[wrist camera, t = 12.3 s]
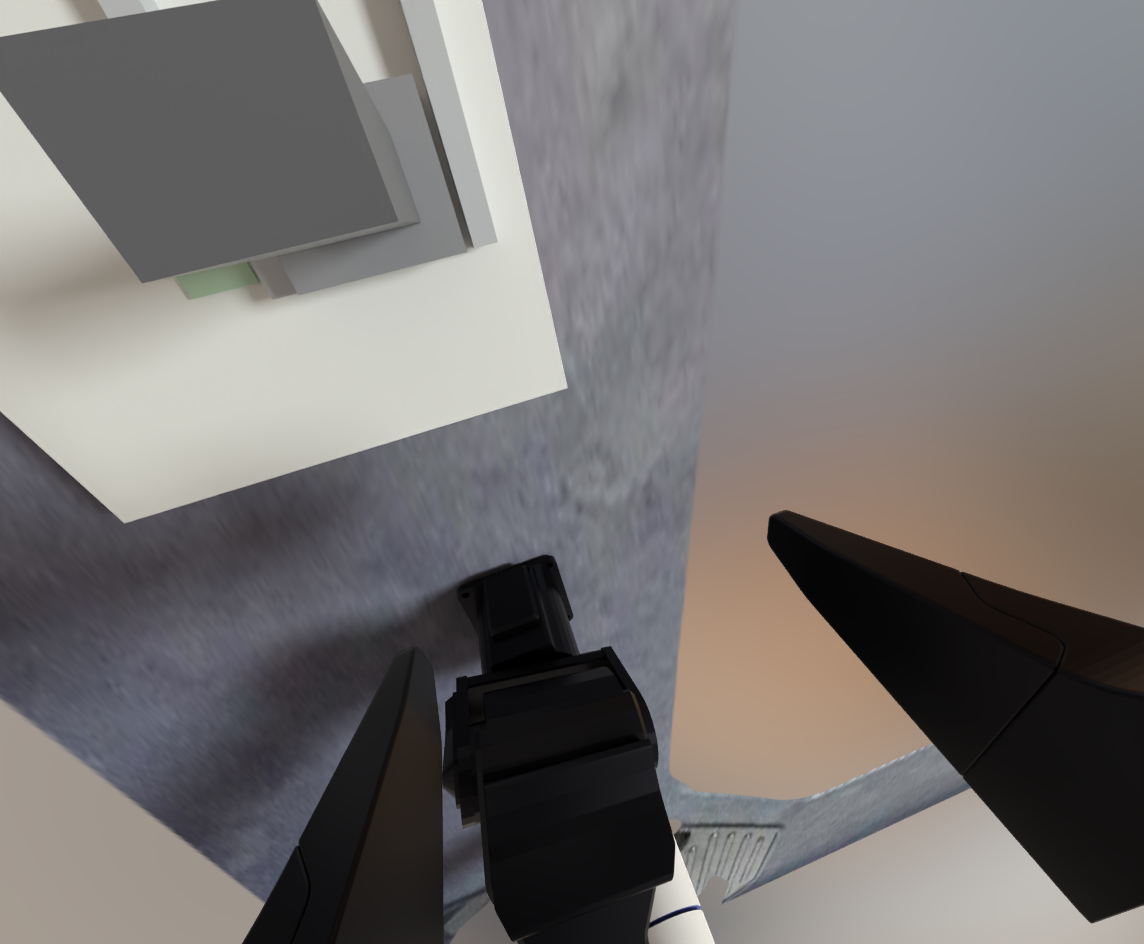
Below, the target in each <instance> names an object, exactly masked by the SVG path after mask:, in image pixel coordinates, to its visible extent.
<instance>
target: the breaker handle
mask: <svg viewBox="0 0 1144 944" xmlns="http://www.w3.org/2000/svg"><path fill="white" fill-rule="evenodd" d="M0 92H1V93H2V95H3V96H4V98H5V99H6V100H7V102H8V103H9V104H10V106H11V107H12V108H13V110H14V111H15V112H16V114H17V115H18V116H19V118H20V119H21V120H22V122H23V123H24V125H25V126H26V127H27V129H28V130H29V131H30V133H31V134H32V135H33V137H34V138H35V139H36V141H37V142H38V143H39V145H40V146H41V147H42V149H43V150H44V152H45V153H46V154H47V156H48V157H49V158H50V160H51V161H52V162H53V164H54V165H55V166H56V168H57V169H58V170H59V172H60V173H61V174H62V176H63V177H64V179H65V180H66V181H67V183H68V184H69V185H70V187H71V188H72V189H73V191H74V192H75V193H76V195H77V196H78V197H79V199H80V200H81V201H82V203H83V204H84V206H85V207H86V208H87V210H88V211H89V212H90V214H91V215H92V216H93V218H94V219H95V220H96V222H97V223H98V224H99V226H100V227H101V228H102V230H103V231H104V233H105V234H106V235H107V237H108V238H109V239H110V241H111V242H112V243H113V245H114V246H115V247H116V249H117V250H118V251H119V253H120V254H121V255H122V257H123V258H124V260H125V261H126V262H127V264H128V265H129V266H130V268H131V269H132V270H133V272H134V273H135V274H136V276H137V277H138V278H139V280H140V281H141V282H142V283H147V282H151V281H156V280H161V279H166V278H171V277H176V276H181V275H186V274H191V273H196V272H200V271H205V270H210V269H215V268H220V267H225V266H230V265H235V264H240V263H245V262H249V261H254V260H259V259H264V258H269V257H274V256H277V257H278V258H279V260H280V262H281V264H282V266H283V268H284V269H285V271H286V273H287V275H288V277H289V278H290V280H291V282H292V284H293V286H294V288H295V289H296V291H297V293H298V295H302V294H306V293H310V292H314V291H318V290H322V289H325V288H329V287H333V286H337V285H341V284H345V283H349V282H353V281H357V280H361V279H364V278H368V277H372V276H376V275H380V274H384V273H388V272H392V271H396V270H400V269H403V268H407V267H411V266H415V265H419V264H423V263H427V262H431V261H435V260H439V259H442V258H446V257H450V256H454V255H458V254H462V253H466V252H467V250H466V246H465V243H464V240H463V237H462V233H461V230H460V227H459V224H458V220H457V217H456V214H455V211H454V207H453V204H452V201H451V198H450V195H449V191H448V188H447V185H446V182H445V178H444V175H443V172H442V169H441V165H440V162H439V159H438V156H437V152H436V149H435V146H434V143H433V139H432V136H431V133H430V130H429V126H428V123H427V120H426V117H425V113H424V110H423V107H422V104H421V101H420V97H419V94H418V91H417V88H416V84H415V81H414V78H413V75H412V74H407V75H402V76H397V77H392V78H387V79H382V80H377V81H372V82H367V83H362V81H361V79H360V77H359V75H358V74H357V72H356V70H355V68H354V66H353V64H352V63H351V61H350V59H349V57H348V55H347V53H346V52H345V50H344V48H343V46H342V44H341V42H340V41H339V39H338V37H337V35H336V33H335V31H334V30H333V28H332V26H331V24H330V22H329V20H328V19H327V17H326V15H325V13H324V11H323V9H322V8H321V6H320V4H319V2H318V0H215V1H209V2H204V3H198V4H192V5H186V6H180V7H174V8H168V9H162V10H156V11H150V12H144V13H139V14H133V15H127V16H121V17H115V18H109V19H103V20H97V21H91V22H85V23H79V24H74V25H68V26H62V27H56V28H50V29H44V30H38V31H32V32H26V33H20V34H14V35H9V36H3V37H0Z"/></svg>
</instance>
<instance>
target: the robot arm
mask: <svg viewBox="0 0 1144 944" xmlns="http://www.w3.org/2000/svg"><path fill="white" fill-rule="evenodd" d="M767 540H768V543H769V545H770V547H771V549H772V550H773V551H774V553H775V554H776V556H777V557H778V559H779V560H780V562H781V563H782V564H783V566H784V567H785V569H786V570H787V571H788V572H789V574H790V576H791V577H792V579H793V580H794V581H795V583H796V584H797V586H798V587H799V588H800V590H801V591H802V592H803V594H804V595H805V596H806V598H807V599H808V600H809V601H810V602H811V604H812V605H813V606H814V607H815V608H816V609H817V611H818V612H819V613H820V614H821V615H822V616H823V617H824V619H825V620H826V621H827V622H828V623H829V624H830V626H831V627H832V628H833V629H834V630H835V631H836V632H837V633H838V635H839V636H840V637H841V638H842V639H843V640H844V642H845V643H846V644H847V645H848V646H849V647H850V648H851V650H852V651H853V652H854V653H855V654H856V655H857V657H858V658H860V660H861V661H862V662H863V663H864V665H865V666H866V667H867V668H868V669H869V670H870V672H871V673H872V674H873V675H874V676H875V677H876V678H877V680H878V681H879V682H880V683H881V684H882V685H883V686H884V688H885V689H886V690H887V691H888V692H889V693H890V695H891V696H892V697H893V698H894V699H895V700H896V701H897V703H898V704H899V705H900V706H901V707H902V708H903V709H904V711H905V712H906V713H907V714H908V715H909V716H910V717H911V719H912V720H913V721H914V722H915V723H916V724H917V725H918V727H919V728H920V729H921V730H922V731H923V732H924V733H925V735H926V736H927V737H928V738H929V739H930V740H931V742H932V743H933V744H934V745H935V746H936V747H937V749H938V750H939V751H940V752H941V753H942V754H943V755H944V757H945V758H946V759H947V760H948V761H949V762H950V764H951V765H952V766H953V767H954V768H955V769H956V770H957V772H958V773H959V774H960V775H962V776H963V779H964V780H965V781H966V782H967V783H968V785H969V786H970V787H971V788H972V789H973V790H974V791H975V793H977V795H978V796H979V797H980V798H981V799H982V801H983V802H984V803H985V804H986V805H987V806H988V807H989V809H990V810H991V811H992V812H993V813H994V814H995V816H996V817H997V818H998V819H999V820H1000V821H1001V823H1003V825H1004V826H1005V827H1006V828H1007V829H1008V831H1009V832H1010V833H1011V834H1012V835H1013V836H1014V837H1015V839H1016V840H1017V841H1018V842H1019V843H1020V844H1021V845H1022V846H1023V848H1024V849H1025V850H1026V851H1027V852H1028V853H1029V855H1030V856H1031V857H1032V858H1033V859H1034V860H1035V861H1036V863H1037V864H1038V865H1039V866H1040V867H1041V868H1042V869H1043V871H1044V872H1045V873H1046V874H1047V875H1048V876H1049V877H1050V879H1051V880H1052V881H1053V882H1054V883H1055V885H1056V886H1057V887H1058V888H1059V889H1060V890H1061V891H1062V893H1063V894H1064V895H1065V896H1066V897H1067V898H1068V899H1069V901H1070V902H1071V903H1072V904H1073V905H1074V906H1075V907H1076V908H1077V910H1078V911H1079V912H1080V913H1081V914H1082V915H1083V916H1084V917H1085V918H1086V919H1087V920H1088V921H1089V922H1090V923H1095V922H1098V921H1101V920H1103V919H1106V918H1109V917H1112V916H1115V915H1118V914H1121V913H1123V912H1126V911H1129V910H1132V909H1135V908H1137V907H1140V906H1143V905H1144V628H1143V627H1140V626H1136V625H1132V624H1129V623H1126V622H1123V621H1119V620H1116V619H1112V618H1109V617H1106V616H1102V615H1099V614H1095V613H1092V612H1088V611H1085V610H1082V609H1078V608H1075V607H1071V606H1068V605H1065V604H1061V603H1058V602H1054V601H1051V600H1048V599H1045V598H1041V597H1038V596H1034V595H1031V594H1028V593H1024V592H1022V591H1018V590H1015V589H1012V588H1009V587H1006V586H1003V585H1000V584H997V583H994V582H991V581H988V580H985V579H983V578H980V577H977V576H974V575H971V574H968V573H965V572H959V570H956V569H954V568H951V567H948V566H945V565H942V564H940V563H937V562H934V561H931V560H928V559H925V558H922V557H919V556H916V555H914V554H911V553H908V552H905V551H903V550H900V549H897V548H894V547H891V546H888V545H885V544H883V543H880V542H877V541H874V540H871V539H868V538H865V537H863V536H860V535H857V534H854V533H851V532H848V531H845V530H843V529H840V528H837V527H834V526H831V525H828V524H826V523H823V522H820V521H817V520H814V519H811V518H808V517H806V516H803V515H800V514H797V513H794V512H791V511H788V510H783V511H780V512H777V513H775V514H773V515H771V516H770V517H769V525H768V534H767ZM547 563H550V564H547ZM466 592H467V593H466ZM464 593H466V594H464ZM457 596H458V599H459V601H460V603H461V605H462V606H463V608H464V610H465V612H466V613H467V615H468V617H469V619H470V621H471V622H472V624H473V626H474V628H475V629H476V631H477V633H478V636H479V647H480V657H481V668H482V675H477V676H472V677H467V676H463V677H458V678H456V691H457V692H454V693H453V696H452V697H451V698H450V699H448V700H447V701H446V702H445V717H446V733H445V748H444V759H443V771H442V741H441V731H440V722H439V714H438V706H437V697H436V689H435V680H434V673H433V669H432V667H431V665H430V663H429V662H428V660H427V659H426V658H425V656H424V655H423V653H422V652H421V651H420V649H419V648H418V647H415V646H414V647H411V648H408V649H405V650H403V651H400V652H399V653H398V654H397V655H396V656H395V658H394V660H393V662H392V664H391V666H390V668H389V669H388V671H387V673H386V675H385V677H384V679H383V681H382V683H381V685H380V687H379V689H378V690H377V692H376V694H375V696H374V698H373V700H372V702H371V704H370V706H369V708H368V710H367V711H366V713H365V715H364V717H363V719H362V721H361V723H360V725H359V727H358V729H357V731H356V732H355V734H354V736H353V738H352V740H351V742H350V744H349V746H348V748H347V750H346V751H345V753H344V755H343V757H342V759H341V761H340V763H339V765H338V767H337V769H336V771H335V772H334V774H333V776H332V778H331V780H330V782H329V784H328V786H327V788H326V790H325V792H324V793H323V795H322V797H321V799H320V801H319V803H318V805H317V807H316V809H315V811H314V813H313V814H312V816H311V818H310V820H309V822H308V824H307V826H306V828H305V830H304V832H303V834H302V835H301V837H300V839H299V842H298V844H299V846H296V847H295V849H294V850H293V852H292V854H291V856H290V858H289V860H288V862H287V864H286V866H285V868H284V869H283V871H282V873H281V875H280V877H279V879H278V881H277V882H276V884H275V886H274V888H273V890H272V892H271V893H270V895H269V897H268V899H267V901H266V903H265V904H264V906H263V908H262V910H261V912H260V914H259V915H258V917H257V919H256V921H255V922H254V924H253V926H252V927H251V929H250V931H249V933H248V934H247V936H246V938H245V939H244V941H243V943H242V944H444V943H443V816H442V781H443V789H445V790H446V791H447V792H448V793H449V794H450V795H452V796H453V797H454V798H455V799H456V807H457V809H460V808H461V818H462V826H463V828H467V827H470V826H473V825H476V824H479V823H481V834H482V847H483V860H484V873H485V885H486V890H487V893H488V896H489V898H490V900H491V901H492V903H493V904H494V907H495V911H496V913H497V915H498V917H499V919H500V921H501V922H502V924H503V926H504V928H505V930H506V932H507V934H508V936H509V937H510V939H511V940H512V941H513V942H515V941H517V942H518V944H649V940H648V929H649V923H650V918H651V912H652V907H653V902H654V896H655V891H656V887H657V886H660V885H662V884H665V883H667V882H670V881H672V879H673V877H674V866H675V840H674V836H673V833H672V830H671V827H670V823H669V820H668V816H667V813H666V810H665V806H664V803H663V799H662V796H661V792H660V788H659V783H658V779H657V774H656V770H655V769H656V768H657V765H658V745H657V739H656V733H655V729H654V725H653V721H652V718H651V715H650V712H649V710H648V707H647V705H646V703H645V700H644V699H643V697H642V695H641V693H640V692H639V690H638V689H637V687H636V685H635V684H634V682H633V681H632V679H631V677H630V676H629V674H628V673H627V671H626V670H625V668H624V666H623V665H622V663H621V662H620V660H619V658H618V657H617V655H616V654H615V652H614V651H613V649H612V647H611V646H608V647H604V648H601V650H597V651H592V652H588V653H583V654H580V653H579V650H578V647H577V644H576V641H575V638H574V635H573V632H572V629H571V626H570V622H569V621H570V620H571V619H572V618H573V613H572V610H571V607H570V604H569V601H568V597H567V594H566V591H565V588H564V585H563V582H562V579H561V576H560V573H559V570H558V566H557V563H556V560H555V558H554V557H553V556H545V557H542V558H539V559H536V560H533V561H531V562H528V563H525V564H522V565H519V566H516V567H514V568H511V569H508V570H505V571H502V572H499V573H497V574H494V575H491V576H488V577H485V578H483V579H480V580H477V581H474V582H471V583H468V584H466V585H463V586H461V587H459V588H458V590H457Z"/></svg>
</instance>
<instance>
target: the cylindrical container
mask: <svg viewBox="0 0 1144 944" xmlns="http://www.w3.org/2000/svg"><path fill="white" fill-rule="evenodd" d="M673 836H674V835H673ZM674 840H675V838H674ZM700 908H701V906H700V904H699V901H698V898H697V896H696V893H695V890H694V888H693V885H692V882H691V880H690V877H689V875H688V872H687V869H686V867H685V864H684V862H683V859H682V856H681V854H680V851H679V849H678V846H677V843H676V841H675V866H674V877H673V879H672V881H670V882H667V883H665V884H662V885H660V886H657V887H656V891H655V896H654V902H653V907H652V912H651V918H650V923H649V929H648V940H649V944H715V943H714V940H713V937H712V935H711V932H710V930H709V927H708V924H707V922H706V919H705V917H704V914H703V911H702V910H700Z"/></svg>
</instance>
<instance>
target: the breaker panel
mask: <svg viewBox="0 0 1144 944" xmlns="http://www.w3.org/2000/svg"><path fill="white" fill-rule="evenodd" d="M209 1H215V0H0V37H3V36H9V35H14V34H20V33H26V32H32V31H38V30H44V29H50V28H56V27H62V26H68V25H74V24H79V23H85V22H91V21H97V20H103V19H109V18H115V17H121V16H127V15H133V14H139V13H144V12H150V11H156V10H162V9H168V8H174V7H180V6H186V5H192V4H198V3H204V2H209ZM318 2H319V4H320V6H321V8H322V9H323V11H324V13H325V15H326V17H327V19H328V20H329V22H330V24H331V26H332V28H333V30H334V31H335V33H336V35H337V37H338V39H339V41H340V42H341V44H342V46H343V48H344V50H345V52H346V53H347V55H348V57H349V59H350V61H351V63H352V64H353V66H354V68H355V70H356V72H357V74H358V75H359V77H360V79H361V81H362V83H367V82H372V81H377V80H382V79H387V78H392V77H397V76H402V75H407V74H412V75H413V78H414V81H415V84H416V88H417V91H418V94H419V97H420V101H421V104H422V107H423V110H424V113H425V117H426V120H427V123H428V126H429V130H430V133H431V136H432V139H433V143H434V146H435V149H436V152H437V156H438V159H439V162H440V165H441V169H442V172H443V175H444V178H445V182H446V185H447V188H448V191H449V195H450V198H451V201H452V204H453V207H454V211H455V214H456V217H457V220H458V224H459V227H460V230H461V233H462V237H463V240H464V243H465V246H466V250H467V252H466V253H462V254H458V255H454V256H450V257H446V258H442V259H439V260H435V261H431V262H427V263H423V264H419V265H415V266H411V267H407V268H403V269H400V270H396V271H392V272H388V273H384V274H380V275H376V276H372V277H368V278H364V279H361V280H357V281H353V282H349V283H345V284H341V285H337V286H333V287H329V288H325V289H322V290H318V291H314V292H310V293H306V294H302V295H298V293H297V291H296V289H295V288H294V286H293V284H292V282H291V280H290V278H289V277H288V275H287V273H286V271H285V269H284V268H283V266H282V264H281V262H280V260H279V258H278V257H277V256H274V257H269V258H264V259H259V260H254V261H249V262H245V263H240V264H235V265H230V266H225V267H220V268H215V269H210V270H205V271H200V272H196V273H191V274H186V275H181V276H176V277H171V278H166V279H161V280H156V281H151V282H147V283H142V282H141V281H140V280H139V278H138V277H137V276H136V274H135V273H134V272H133V270H132V269H131V268H130V266H129V265H128V264H127V262H126V261H125V260H124V258H123V257H122V255H121V254H120V253H119V251H118V250H117V249H116V247H115V246H114V245H113V243H112V242H111V241H110V239H109V238H108V237H107V235H106V234H105V233H104V231H103V230H102V228H101V227H100V226H99V224H98V223H97V222H96V220H95V219H94V218H93V216H92V215H91V214H90V212H89V211H88V210H87V208H86V207H85V206H84V204H83V203H82V201H81V200H80V199H79V197H78V196H77V195H76V193H75V192H74V191H73V189H72V188H71V187H70V185H69V184H68V183H67V181H66V180H65V179H64V177H63V176H62V174H61V173H60V172H59V170H58V169H57V168H56V166H55V165H54V164H53V162H52V161H51V160H50V158H49V157H48V156H47V154H46V153H45V152H44V150H43V149H42V147H41V146H40V145H39V143H38V142H37V141H36V139H35V138H34V137H33V135H32V134H31V133H30V131H29V130H28V129H27V127H26V126H25V125H24V123H23V122H22V120H21V119H20V118H19V116H18V115H17V114H16V112H15V111H14V110H13V108H12V107H11V106H10V104H9V103H8V102H7V100H6V99H5V98H4V96H3V95H2V93H1V92H0V411H1V412H2V413H3V414H4V415H5V416H6V417H7V418H8V419H9V420H11V421H12V422H13V423H14V424H15V425H16V426H17V427H18V428H19V429H21V430H22V431H23V432H24V433H25V434H26V435H27V436H28V437H29V438H30V439H32V440H33V441H34V442H35V443H36V444H37V445H38V446H39V447H40V448H42V449H43V450H44V451H45V452H46V453H47V454H48V455H49V456H50V457H52V458H53V459H54V460H55V461H56V462H57V463H58V464H59V465H60V466H61V467H63V468H64V469H65V470H66V471H67V472H68V473H69V474H70V475H71V476H73V477H74V478H75V479H76V480H77V481H78V482H79V483H80V484H81V485H82V486H84V487H85V488H86V489H87V490H88V491H89V492H90V493H91V494H92V495H94V496H95V497H96V498H97V499H98V500H99V501H100V502H101V503H102V504H104V505H105V506H106V507H107V508H108V509H109V510H110V511H111V512H112V513H113V514H115V515H116V516H117V517H118V518H119V519H120V520H121V521H122V522H123V523H127V522H131V521H134V520H137V519H140V518H144V517H147V516H150V515H154V514H157V513H160V512H163V511H167V510H170V509H173V508H176V507H180V506H183V505H186V504H190V503H193V502H196V501H199V500H203V499H206V498H209V497H212V496H216V495H219V494H222V493H225V492H229V491H232V490H235V489H239V488H242V487H245V486H248V485H252V484H255V483H258V482H261V481H265V480H268V479H271V478H275V477H278V476H281V475H284V474H288V473H291V472H294V471H297V470H301V469H304V468H307V467H311V466H314V465H317V464H320V463H324V462H327V461H330V460H333V459H337V458H340V457H343V456H347V455H350V454H353V453H356V452H360V451H363V450H366V449H369V448H373V447H376V446H379V445H383V444H386V443H389V442H392V441H396V440H399V439H402V438H405V437H409V436H412V435H415V434H419V433H422V432H425V431H428V430H432V429H435V428H438V427H441V426H445V425H448V424H451V423H454V422H458V421H461V420H464V419H468V418H471V417H474V416H477V415H481V414H484V413H487V412H490V411H494V410H497V409H500V408H504V407H507V406H510V405H513V404H517V403H520V402H523V401H526V400H530V399H533V398H536V397H540V396H543V395H546V394H549V393H553V392H556V391H559V390H562V389H566V388H567V383H566V378H565V374H564V369H563V365H562V360H561V356H560V351H559V347H558V342H557V338H556V333H555V329H554V324H553V320H552V315H551V311H550V306H549V302H548V297H547V293H546V288H545V284H544V279H543V275H542V270H541V266H540V261H539V257H538V252H537V247H536V243H535V238H534V234H533V229H532V225H531V220H530V216H529V211H528V207H527V202H526V198H525V193H524V189H523V184H522V180H521V175H520V171H519V166H518V162H517V157H516V153H515V148H514V144H513V139H512V135H511V130H510V126H509V121H508V117H507V112H506V107H505V103H504V98H503V94H502V89H501V85H500V80H499V76H498V71H497V67H496V62H495V58H494V53H493V49H492V44H491V40H490V35H489V31H488V26H487V22H486V17H485V13H484V8H483V4H482V0H318Z"/></svg>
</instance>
